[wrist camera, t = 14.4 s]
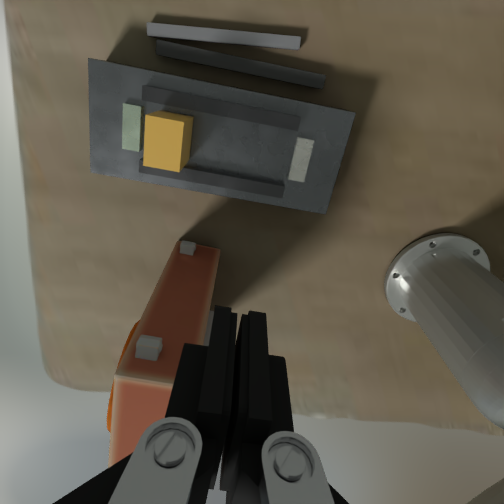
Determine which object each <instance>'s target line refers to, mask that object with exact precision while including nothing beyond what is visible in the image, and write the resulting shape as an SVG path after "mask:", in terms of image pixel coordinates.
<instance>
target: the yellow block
mask: <svg viewBox="0 0 504 504" xmlns="http://www.w3.org/2000/svg"><path fill="white" fill-rule="evenodd" d="M193 118H194V116H188V115H183V114H178V113H173V112H168V111H163V110H159V111H156V112H153V113H149V114H146V115H145V135H144V157H143V166H148V167H153V168H158V169H164V170H169V171H175V172H180V171H181V170H182V168H183V167H184V166H185V165H186V163H187V162H188V161H189V157H190V147H191V137H192V128H193Z"/></svg>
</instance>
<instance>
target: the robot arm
mask: <svg viewBox="0 0 504 504" xmlns="http://www.w3.org/2000/svg"><path fill="white" fill-rule="evenodd" d="M384 290H385V295H386V298H387V300H388V302H389V304H390V305H391V307H392V308H393V310H394V311H395V312H396V313H397V314H399V315H400V316H402V317H404V318H405V319H408V320H411V321H414V322H417V323H418V324H419V326H420V327H421V329H422V330H423V331H424V333H425V334H426V336H427V337H428V339H429V340H430V342H431V343H432V345H433V346H434V347H435V349H436V350H437V352H438V353H439V355H440V356H441V358H442V359H443V361H444V362H445V363H446V365H447V366H448V368H449V369H450V371H451V372H452V374H453V375H454V377H455V378H456V379H457V381H458V382H459V384H460V385H461V387H462V388H463V390H464V391H465V393H466V394H467V395H468V397H469V398H470V400H471V401H472V402H473V404H474V405H475V407H476V408H477V409H478V410H479V411H480V412H481V413H482V414H483V415H484V416H485V417H486V418H487V419H488V420H490V421H491V422H492V423H494V424H495V425H497V426H498V427H500V428H502V429H504V282H502V281H501V280H500V279H499V278H497V277H496V276H495V275H494V274H492V273H491V272H490V262H489V259H488V256H487V254H486V253H485V251H484V249H483V248H482V247H480V246H479V245H478V244H477V243H476V242H474V241H473V240H471V239H470V238H467V237H465V236H462V235H459V234H453V233H440V234H435V235H430V236H427V237H424V238H421V239H419V240H417V241H415V242H413V243H412V244H410V245H409V246H407V247H406V248H405V249H403V250H402V251H401V252H400V253H399V254H398V255H397V256H396V257H395V259H394V260H393V262H392V263H391V264H390V266H389V269H388V271H387V273H386V277H385V281H384ZM236 327H237V313H232V312H231V308H229V307H222V306H216V305H215V310H214V316H213V322H212V328H211V334H210V340H209V346H204V345H197V344H190V343H184V346H183V349H182V353H181V357H180V361H179V364H178V368H177V372H176V376H175V380H174V384H173V387H172V391H171V395H170V399H169V403H168V407H167V410H166V414H165V418H162V419H160V420H158V421H156V422H154V423H152V424H151V425H150V426H149V427H147V428H146V430H145V431H144V433H143V434H142V436H141V437H140V439H139V441H138V443H137V445H136V447H135V450H134V452H133V453H131V454H129V455H128V456H126V457H125V458H123V459H122V460H120V461H119V462H117V463H115V464H114V465H112V466H111V467H109V468H108V469H106V470H105V471H103V472H102V473H100V474H98V475H97V476H95V477H94V478H92V479H90V480H89V481H87V482H86V483H84V484H83V485H81V486H80V487H78V488H77V489H75V490H74V491H72V492H70V493H69V494H67V495H65V496H64V497H62V498H61V499H59V500H58V501H56V502H55V503H53V504H205V503H206V499H207V494H208V489H214V485H215V481H216V476H217V472H218V468H219V463H220V460H221V455H222V463H221V476H220V477H221V478H220V490H222V491H227V493H226V504H349V503H348V502H347V501H346V500H345V499H344V498H343V497H342V496H341V495H340V494H339V493H338V492H337V491H336V490H335V489H334V488H333V487H332V486H331V485H330V484H329V483H328V482H327V479H326V476H325V473H324V470H323V467H322V463H321V460H320V457H319V455H318V453H317V451H316V449H315V448H314V447H313V445H312V444H311V443H310V442H309V441H308V440H307V439H305V438H304V437H303V436H301V435H299V434H297V433H294V428H293V420H292V411H291V403H290V394H289V386H288V378H287V369H286V362H285V358H284V357H281V356H274V355H269V354H268V338H267V321H266V313H262V312H255V311H249V313H248V315H245V314H242V317H241V321H240V326H239V331H238V335H237V340H236ZM235 342H236V345H235ZM467 504H504V478H503V479H502V480H500V481H499V482H497V483H495V484H494V485H492V486H491V487H489V488H488V489H486V490H485V491H483V492H482V493H481V494H479V495H478V496H476V497H475V498H473V499H472V500H471V501H469V502H468V503H467Z"/></svg>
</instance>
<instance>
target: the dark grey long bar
mask: <svg viewBox="0 0 504 504" xmlns="http://www.w3.org/2000/svg"><path fill="white" fill-rule="evenodd" d="M156 54H157V55H161V56H165V57H170V58H175V59H180V60H185V61H189V62H194V63H199V64H204V65H208V66H213V67H218V68H223V69H228V70H232V71H237V72H242V73H247V74H252V75H256V76H261V77H266V78H271V79H275V80H280V81H285V82H290V83H295V84H299V85H304V86H309V87H314V88H319V89H323V86H324V82H325V78H326V75H322V74H317V73H313V72H308V71H303V70H299V69H294V68H289V67H284V66H280V65H275V64H270V63H266V62H261V61H256V60H251V59H247V58H242V57H237V56H233V55H228V54H223V53H219V52H214V51H209V50H204V49H200V48H195V47H190V46H186V45H181V44H176V43H171V42H167V41H162V40H157V41H156Z"/></svg>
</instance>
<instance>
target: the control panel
mask: <svg viewBox="0 0 504 504" xmlns="http://www.w3.org/2000/svg"><path fill="white" fill-rule="evenodd" d="M220 252H221V250H220V249H218V248H213V247H208V246H203V245H198V244H196V243H194V242H189V241H184V240H183V241H177V243H176V245H175V247H174V249H173V251H172V253H171V256H170V258H169V260H168V262H167V264H166V266H165V268H164V270H163V273H162V275H161V277H160V279H159V281H158V283H157V285H156V287H155V289H154V292H153V294H152V296H151V298H150V300H149V302H148V304H147V306H146V309H145V311H144V313H143V315H142V317H141V319H140V320H139V321H138V322H137V323H136V324H135V325H134V327H133V328H132V330H131V332H130V334H129V336H128V339H127V341H126V343H125V346H124V349H123V352H122V355H121V357H120V360H119V363H118V367H117V370H116V372H115V374H114V381H113V385H112V390H111V395H110V399H109V405H108V413H107V429H108V431H109V432H110V448H109V464H108V468H109V467H111V466H112V465H114V464H115V463H117V462H119V461H120V460H122V459H123V458H125V457H126V456H128V455H129V454H131V453H133V452H134V450H135V447H136V445H137V443H138V441H139V439H140V437H141V436H142V434H143V433H144V431H145V430H146V428H147V427H149V426H150V425H151V424H152V423H154V422H156V421H158V420H160V419H162V418H165V414H166V410H167V407H168V403H169V399H170V395H171V391H172V387H173V384H174V380H175V376H176V372H177V368H178V364H179V361H180V357H181V353H182V349H183V346H184V343H190V344H197V345H204V346H209V340H210V334H211V328H212V322H213V316H214V311H211V310H210V306H211V301H212V295H213V290H214V285H215V279H216V274H217V269H218V263H219V258H220Z"/></svg>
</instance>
